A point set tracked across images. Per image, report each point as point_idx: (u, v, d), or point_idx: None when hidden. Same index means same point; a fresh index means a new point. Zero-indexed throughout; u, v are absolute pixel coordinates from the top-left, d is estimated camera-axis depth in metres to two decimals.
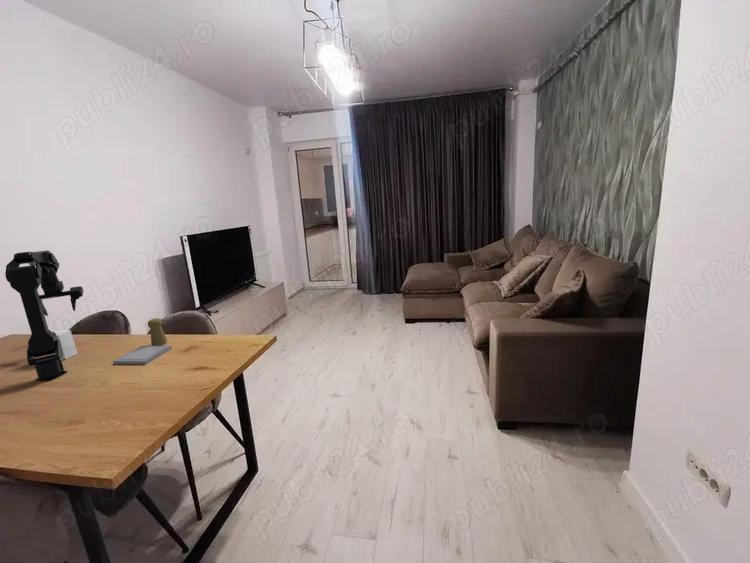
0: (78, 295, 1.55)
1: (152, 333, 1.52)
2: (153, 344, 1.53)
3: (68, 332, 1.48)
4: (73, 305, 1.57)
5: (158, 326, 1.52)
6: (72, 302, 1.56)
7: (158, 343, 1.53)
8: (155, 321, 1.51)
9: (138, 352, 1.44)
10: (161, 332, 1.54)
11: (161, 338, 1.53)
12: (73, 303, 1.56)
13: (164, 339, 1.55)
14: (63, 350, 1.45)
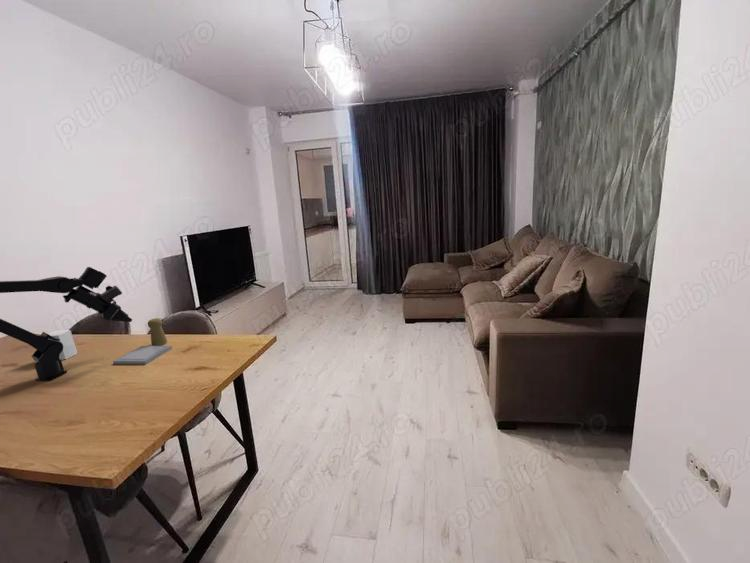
0: (106, 319, 1.36)
1: (152, 333, 1.52)
2: (153, 344, 1.53)
3: (68, 332, 1.48)
4: (120, 320, 1.41)
5: (158, 326, 1.52)
6: None
7: (158, 343, 1.53)
8: (155, 321, 1.51)
9: (138, 352, 1.44)
10: (161, 332, 1.54)
11: (161, 338, 1.53)
12: (116, 320, 1.40)
13: (164, 339, 1.55)
14: (63, 350, 1.45)
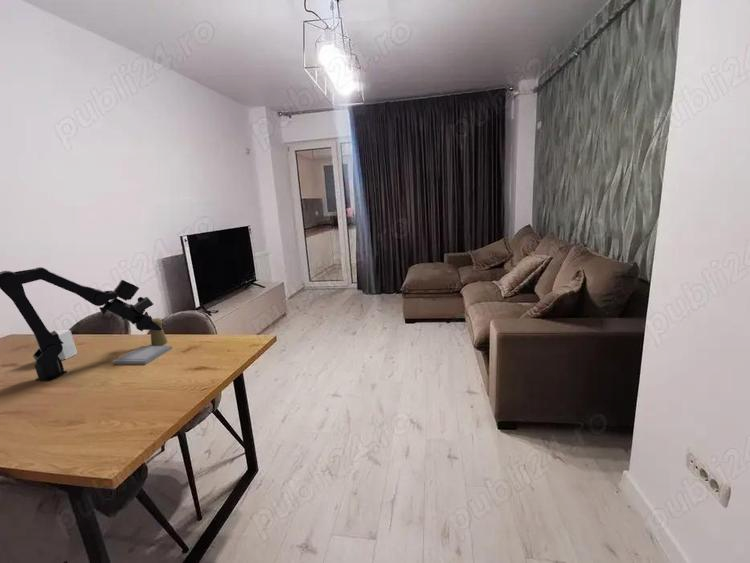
0: (139, 329, 1.43)
1: (152, 333, 1.52)
2: (153, 344, 1.53)
3: (68, 332, 1.48)
4: None
5: None
6: None
7: (158, 343, 1.53)
8: (155, 321, 1.51)
9: (138, 352, 1.44)
10: (161, 332, 1.54)
11: (161, 338, 1.53)
12: None
13: (164, 339, 1.55)
14: (63, 350, 1.45)
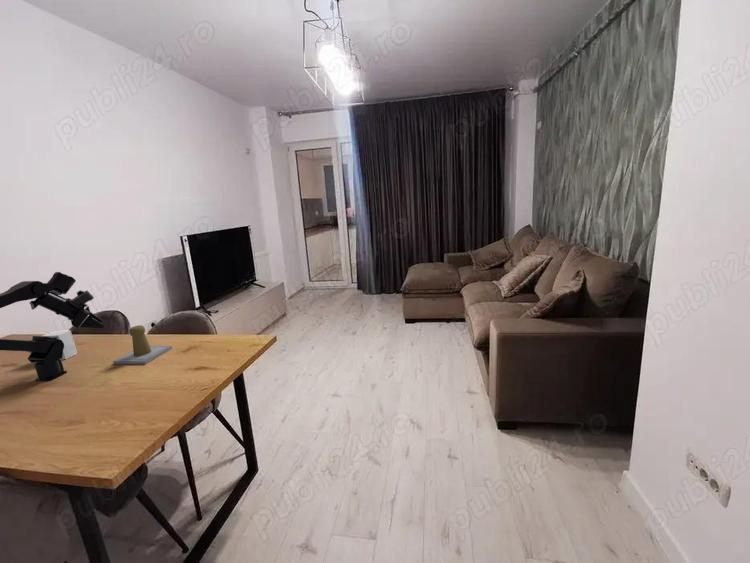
0: None
1: (134, 342, 1.40)
2: (135, 353, 1.40)
3: (68, 332, 1.48)
4: None
5: (140, 334, 1.40)
6: None
7: (141, 353, 1.40)
8: (137, 328, 1.39)
9: None
10: (144, 340, 1.41)
11: (144, 347, 1.41)
12: None
13: (147, 348, 1.42)
14: (63, 350, 1.45)
